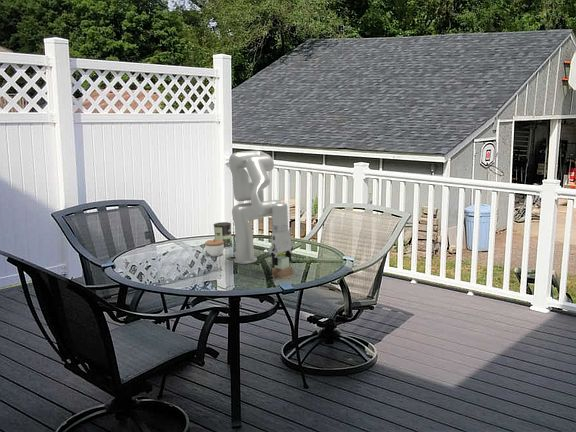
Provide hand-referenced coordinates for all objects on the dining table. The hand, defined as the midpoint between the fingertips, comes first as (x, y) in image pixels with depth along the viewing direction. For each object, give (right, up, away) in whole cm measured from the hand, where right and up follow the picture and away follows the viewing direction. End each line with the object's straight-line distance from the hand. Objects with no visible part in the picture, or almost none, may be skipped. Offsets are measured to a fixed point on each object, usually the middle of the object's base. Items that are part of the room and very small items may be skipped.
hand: (281, 262), depth 293 cm
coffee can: (-36, +4, +69) cm, 78 cm away
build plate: (0, -7, +1) cm, 8 cm away
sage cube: (0, -2, 0) cm, 2 cm away
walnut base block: (0, -6, +1) cm, 6 cm away
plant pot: (0, -4, +20) cm, 20 cm away
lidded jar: (-38, 0, +50) cm, 63 cm away
